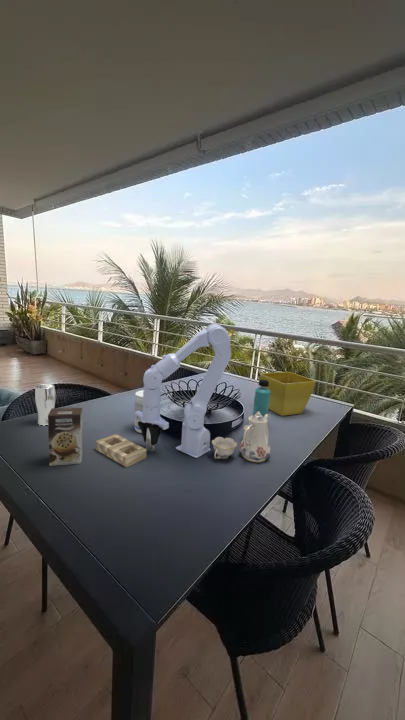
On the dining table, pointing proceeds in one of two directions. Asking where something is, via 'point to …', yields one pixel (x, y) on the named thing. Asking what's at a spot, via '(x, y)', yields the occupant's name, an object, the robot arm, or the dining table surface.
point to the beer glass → (44, 401)
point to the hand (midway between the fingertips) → (150, 442)
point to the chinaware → (247, 441)
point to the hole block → (121, 450)
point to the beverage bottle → (262, 398)
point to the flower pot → (288, 392)
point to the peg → (149, 441)
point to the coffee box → (65, 436)
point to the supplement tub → (138, 408)
